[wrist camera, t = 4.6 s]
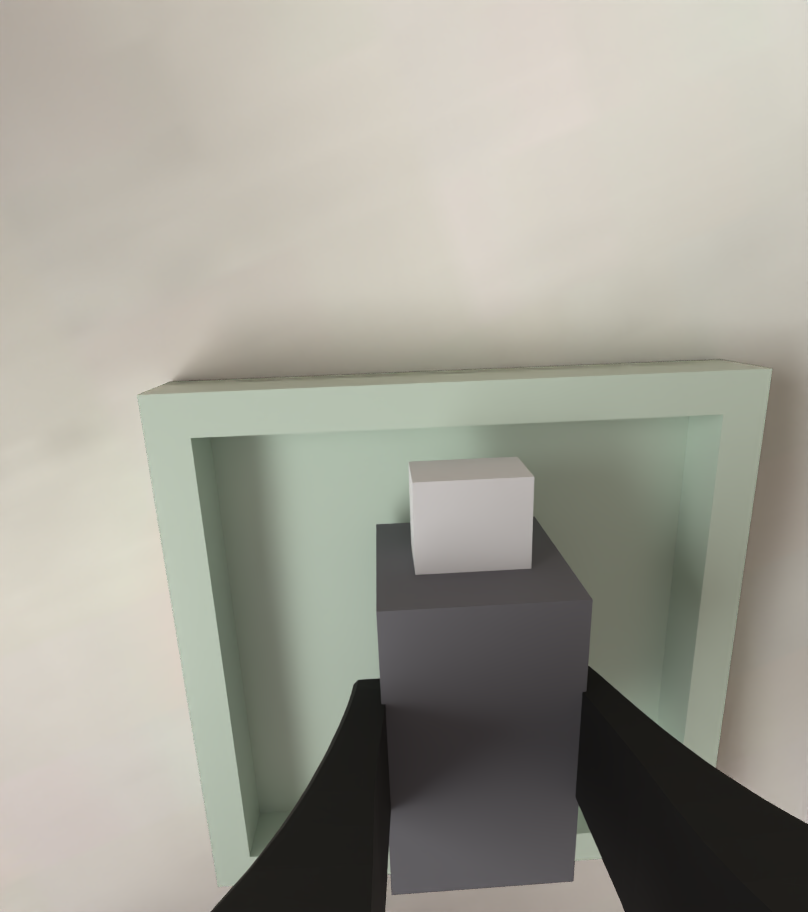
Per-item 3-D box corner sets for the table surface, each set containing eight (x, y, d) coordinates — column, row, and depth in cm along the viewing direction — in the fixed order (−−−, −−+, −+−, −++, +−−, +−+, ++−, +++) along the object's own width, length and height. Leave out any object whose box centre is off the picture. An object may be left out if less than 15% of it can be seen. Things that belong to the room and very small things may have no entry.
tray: (669, 793, 18) (703, 851, 16) (235, 823, 18) (217, 886, 16) (719, 359, 15) (772, 368, 13) (169, 381, 14) (137, 394, 12)
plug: (526, 741, 16) (573, 881, 12) (388, 750, 16) (391, 894, 12) (537, 439, 14) (600, 497, 10) (372, 447, 14) (370, 509, 10)
